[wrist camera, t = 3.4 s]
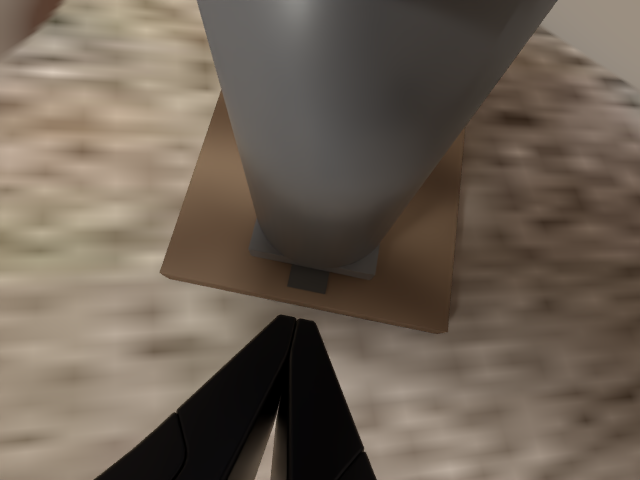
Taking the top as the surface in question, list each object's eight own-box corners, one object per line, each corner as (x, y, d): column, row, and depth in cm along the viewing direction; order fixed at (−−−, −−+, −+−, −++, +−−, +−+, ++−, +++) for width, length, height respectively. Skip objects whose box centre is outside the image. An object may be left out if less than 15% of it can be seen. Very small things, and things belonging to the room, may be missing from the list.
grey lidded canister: (384, 297, 15) (1110, -189, 2) (230, 266, 15) (-302, -483, 2) (404, 161, 17) (809, -572, 4) (267, 133, 17) (163, -705, 4)
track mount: (436, 333, 16) (495, 324, 12) (169, 278, 16) (117, 246, 12) (462, 64, 21) (511, -22, 16) (253, 21, 21) (241, -78, 16)
